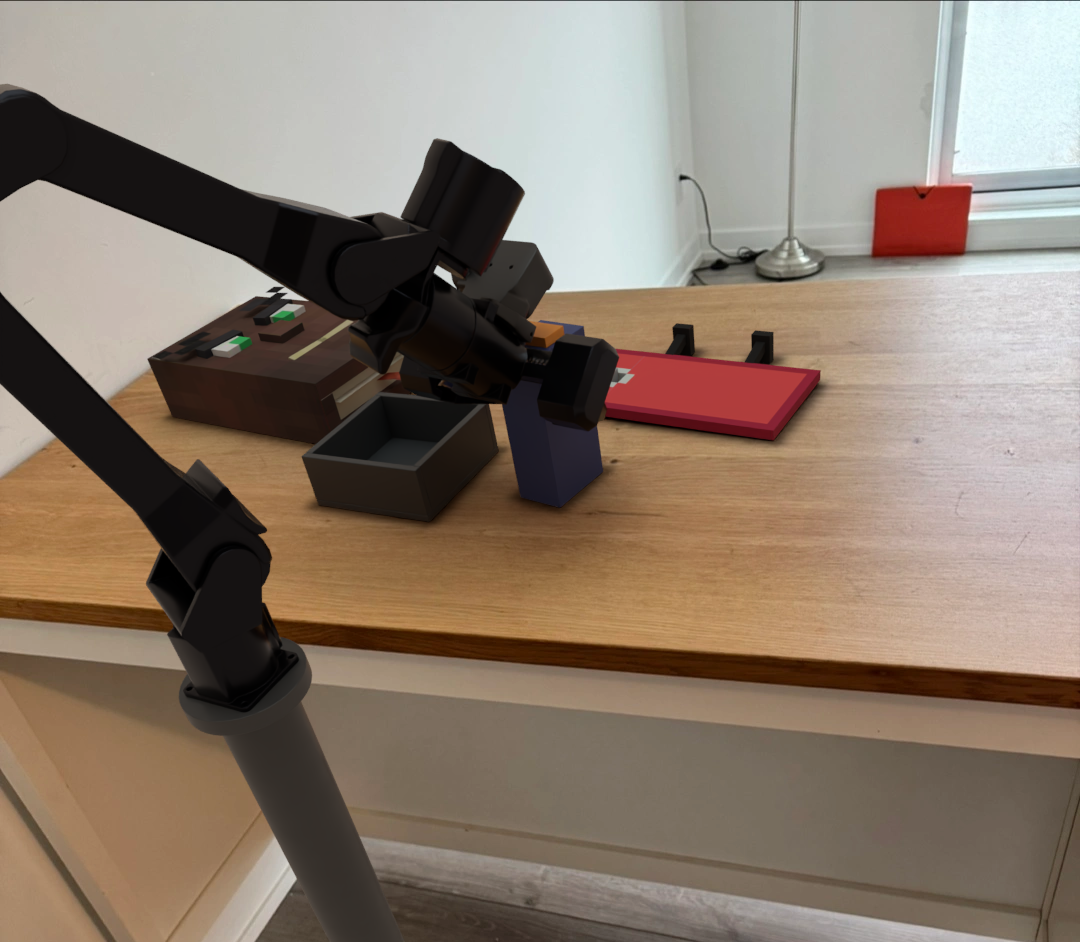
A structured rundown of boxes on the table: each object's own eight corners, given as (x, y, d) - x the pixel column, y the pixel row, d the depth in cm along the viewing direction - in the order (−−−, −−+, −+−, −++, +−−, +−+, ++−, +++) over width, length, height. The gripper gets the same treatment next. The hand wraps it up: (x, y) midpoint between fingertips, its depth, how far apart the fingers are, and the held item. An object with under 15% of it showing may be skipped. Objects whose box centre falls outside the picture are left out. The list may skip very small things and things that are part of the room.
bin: (429, 522, 88) (415, 470, 84) (318, 505, 93) (300, 456, 90) (499, 451, 95) (488, 401, 92) (392, 439, 101) (378, 391, 97)
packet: (560, 508, 86) (533, 349, 77) (520, 497, 88) (489, 342, 79) (603, 471, 89) (582, 315, 80) (563, 462, 92) (539, 309, 82)
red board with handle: (565, 338, 111) (491, 404, 103) (561, 312, 109) (485, 378, 101) (834, 366, 97) (773, 445, 88) (835, 337, 95) (773, 415, 87)
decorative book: (322, 383, 94) (121, 354, 109) (346, 457, 99) (150, 419, 114) (445, 300, 105) (246, 283, 120) (460, 370, 110) (268, 345, 125)
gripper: (585, 225, 66) (687, 323, 79) (385, 210, 76) (505, 299, 89) (532, 393, 67) (641, 462, 80) (342, 356, 77) (466, 423, 90)
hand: (560, 406), depth 85 cm, fingers open, 9 cm apart
